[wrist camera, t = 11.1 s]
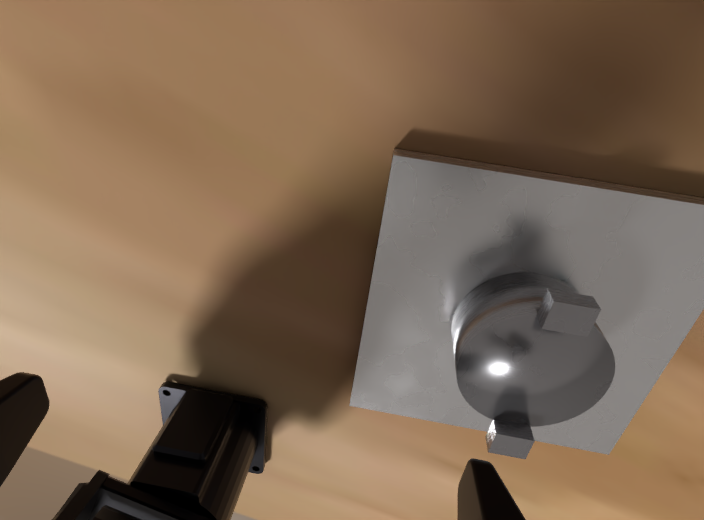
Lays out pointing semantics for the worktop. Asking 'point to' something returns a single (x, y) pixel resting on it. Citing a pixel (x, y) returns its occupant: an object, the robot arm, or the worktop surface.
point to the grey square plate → (525, 301)
